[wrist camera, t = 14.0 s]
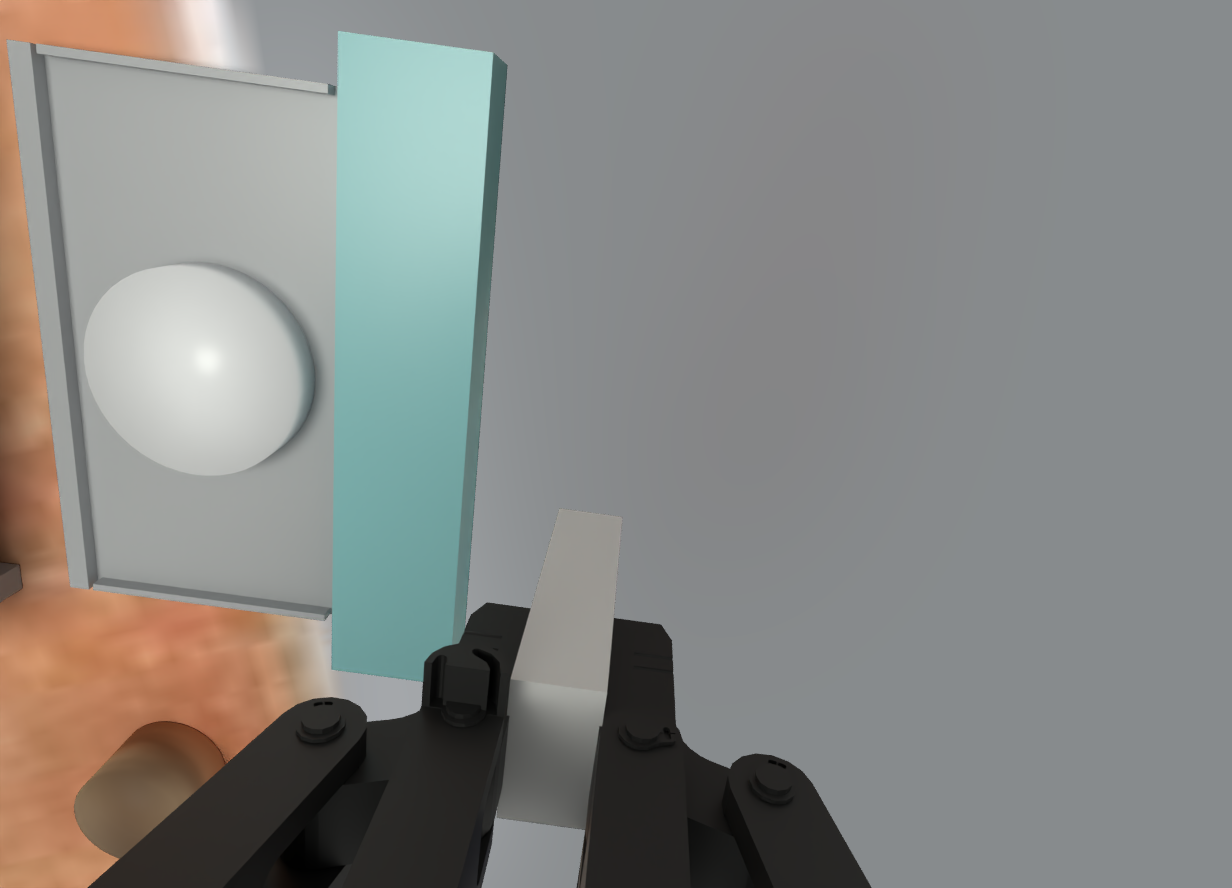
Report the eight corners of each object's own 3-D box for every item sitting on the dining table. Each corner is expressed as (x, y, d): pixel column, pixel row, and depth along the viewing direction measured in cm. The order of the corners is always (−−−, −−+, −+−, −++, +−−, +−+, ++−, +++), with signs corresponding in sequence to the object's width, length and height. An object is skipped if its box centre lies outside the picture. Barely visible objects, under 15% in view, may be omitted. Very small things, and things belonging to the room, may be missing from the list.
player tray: (96, 600, 34) (53, 632, 32) (32, -1, 27) (-30, -20, 24) (463, 649, 34) (449, 685, 32) (507, 65, 27) (493, 52, 24)
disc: (117, 444, 31) (90, 458, 29) (106, 245, 28) (76, 249, 27) (312, 476, 31) (295, 490, 30) (318, 281, 29) (300, 286, 27)
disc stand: (129, 797, 38) (79, 854, 35) (121, 715, 37) (68, 767, 33) (227, 810, 38) (187, 868, 35) (223, 728, 37) (181, 782, 33)
